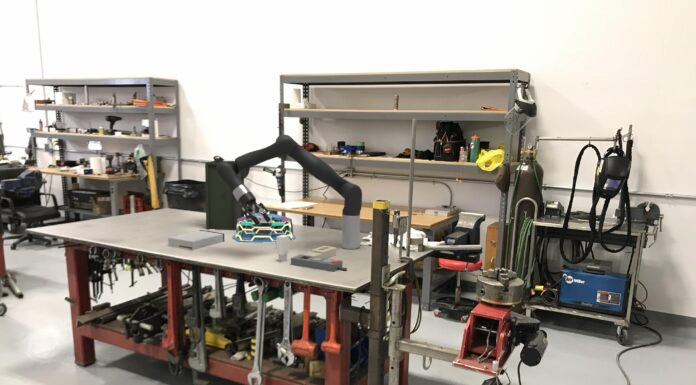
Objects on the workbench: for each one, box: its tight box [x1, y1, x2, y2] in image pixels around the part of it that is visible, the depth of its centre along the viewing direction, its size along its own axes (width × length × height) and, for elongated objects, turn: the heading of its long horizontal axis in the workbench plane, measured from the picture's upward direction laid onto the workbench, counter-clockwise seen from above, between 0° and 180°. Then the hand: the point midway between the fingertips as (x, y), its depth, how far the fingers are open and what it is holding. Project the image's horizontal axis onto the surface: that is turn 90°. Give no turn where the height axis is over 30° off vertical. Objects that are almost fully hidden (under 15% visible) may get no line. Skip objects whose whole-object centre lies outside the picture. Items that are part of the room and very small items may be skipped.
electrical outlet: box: [301, 245, 337, 259], centre depth 236 cm, size 7×4×18 cm
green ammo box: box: [204, 160, 245, 231], centre depth 303 cm, size 18×18×40 cm
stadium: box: [231, 213, 296, 244], centre depth 276 cm, size 35×24×14 cm
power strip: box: [290, 253, 348, 273], centre depth 220 cm, size 8×26×4 cm, turn 63°
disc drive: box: [167, 229, 225, 251], centre depth 259 cm, size 18×22×5 cm
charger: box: [276, 235, 290, 262], centre depth 228 cm, size 5×4×12 cm
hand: (263, 222), depth 231 cm, fingers open, 8 cm apart
